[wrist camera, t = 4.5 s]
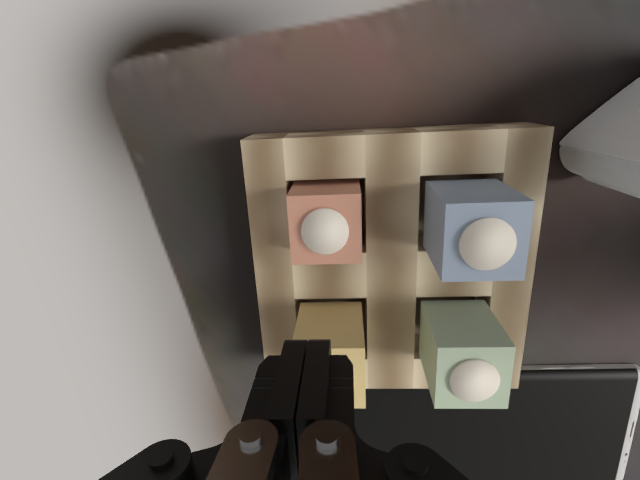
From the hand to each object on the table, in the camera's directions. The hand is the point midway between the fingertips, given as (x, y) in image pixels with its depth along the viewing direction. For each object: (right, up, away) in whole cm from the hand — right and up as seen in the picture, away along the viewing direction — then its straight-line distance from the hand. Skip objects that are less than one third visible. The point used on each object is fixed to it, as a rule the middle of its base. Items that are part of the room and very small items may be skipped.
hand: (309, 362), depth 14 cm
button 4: (+10, -3, +18) cm, 21 cm away
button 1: (+1, +7, +18) cm, 19 cm away
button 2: (+1, -3, +18) cm, 19 cm away
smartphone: (+16, -13, +27) cm, 34 cm away
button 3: (+10, +6, +15) cm, 19 cm away
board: (+6, +3, +21) cm, 22 cm away
